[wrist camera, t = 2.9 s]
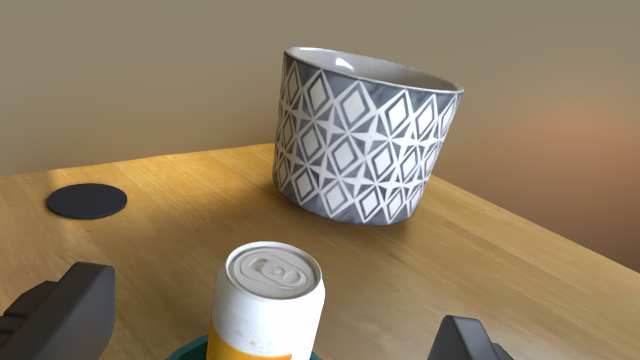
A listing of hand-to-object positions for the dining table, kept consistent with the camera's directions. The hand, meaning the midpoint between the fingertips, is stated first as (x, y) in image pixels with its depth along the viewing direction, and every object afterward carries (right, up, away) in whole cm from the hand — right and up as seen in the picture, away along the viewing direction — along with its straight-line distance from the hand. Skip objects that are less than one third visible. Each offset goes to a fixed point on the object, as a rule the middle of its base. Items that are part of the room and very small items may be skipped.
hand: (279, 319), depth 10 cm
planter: (+4, 0, +59) cm, 59 cm away
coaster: (-29, +1, +44) cm, 52 cm away
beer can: (-4, -15, +18) cm, 24 cm away
